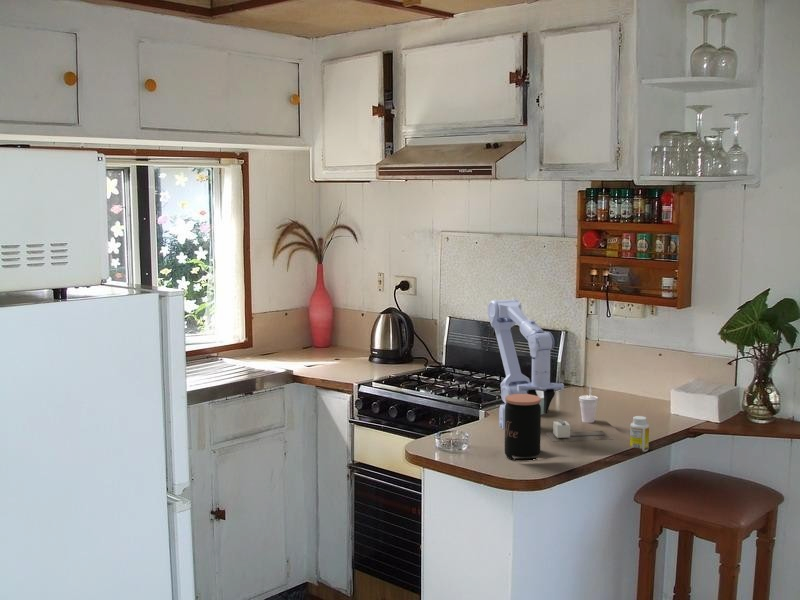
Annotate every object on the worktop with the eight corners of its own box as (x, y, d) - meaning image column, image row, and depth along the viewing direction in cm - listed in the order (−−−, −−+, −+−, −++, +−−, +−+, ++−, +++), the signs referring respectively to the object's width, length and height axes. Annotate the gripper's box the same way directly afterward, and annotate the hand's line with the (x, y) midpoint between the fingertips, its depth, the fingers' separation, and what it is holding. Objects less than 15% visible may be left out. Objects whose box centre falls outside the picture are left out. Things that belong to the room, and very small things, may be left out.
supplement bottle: (644, 447, 284) (645, 414, 283) (651, 452, 278) (652, 419, 277) (627, 447, 283) (628, 415, 282) (633, 453, 278) (634, 420, 277)
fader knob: (557, 437, 288) (557, 423, 287) (553, 433, 293) (553, 419, 292) (569, 437, 288) (570, 423, 287) (565, 433, 293) (565, 419, 292)
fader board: (553, 446, 285) (553, 441, 285) (544, 437, 295) (545, 432, 295) (612, 444, 287) (612, 439, 287) (602, 435, 297) (602, 430, 297)
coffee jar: (501, 451, 280) (502, 394, 278) (535, 450, 281) (536, 393, 278) (508, 462, 270) (508, 402, 267) (543, 461, 270) (544, 401, 268)
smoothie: (597, 428, 305) (598, 387, 303) (578, 427, 306) (579, 386, 304) (597, 423, 311) (598, 383, 309) (578, 422, 313) (579, 382, 311)
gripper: (521, 374, 282) (520, 417, 284) (567, 372, 284) (566, 415, 285) (515, 369, 289) (515, 411, 291) (560, 368, 291) (560, 409, 292)
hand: (540, 413), depth 289 cm, fingers open, 3 cm apart
